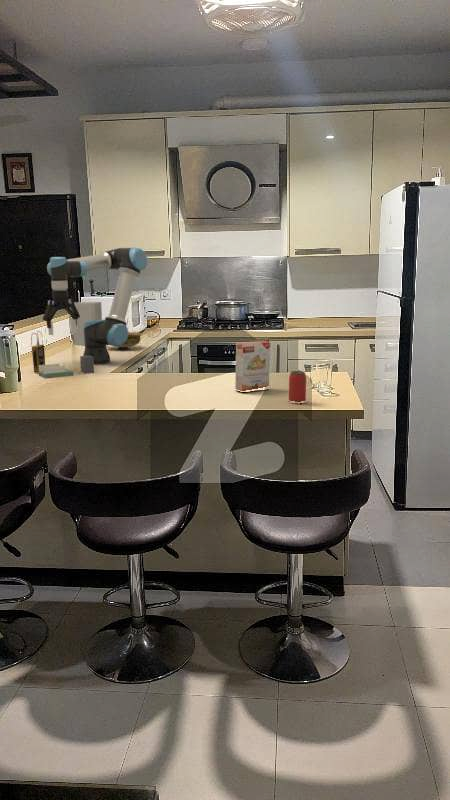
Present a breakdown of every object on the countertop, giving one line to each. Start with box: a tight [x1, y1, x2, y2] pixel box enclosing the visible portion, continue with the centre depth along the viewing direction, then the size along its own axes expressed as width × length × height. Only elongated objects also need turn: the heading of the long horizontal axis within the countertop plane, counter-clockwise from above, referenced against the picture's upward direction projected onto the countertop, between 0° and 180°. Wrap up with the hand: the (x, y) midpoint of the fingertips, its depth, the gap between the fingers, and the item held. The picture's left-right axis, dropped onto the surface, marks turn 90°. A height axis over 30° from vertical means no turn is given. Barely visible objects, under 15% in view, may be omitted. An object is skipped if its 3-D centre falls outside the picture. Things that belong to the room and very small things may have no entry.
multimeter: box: [30, 330, 46, 375], centre depth 309 cm, size 15×10×20 cm
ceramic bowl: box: [114, 331, 143, 351], centre depth 390 cm, size 30×24×10 cm
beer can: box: [288, 370, 307, 402], centre depth 239 cm, size 7×7×12 cm
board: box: [38, 363, 74, 379], centre depth 299 cm, size 14×9×5 cm, turn 124°
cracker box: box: [234, 340, 271, 391], centre depth 260 cm, size 14×6×21 cm, turn 122°
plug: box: [79, 355, 95, 374], centre depth 307 cm, size 5×5×8 cm
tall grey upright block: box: [72, 301, 103, 347], centre depth 409 cm, size 19×15×28 cm
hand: (62, 333), depth 302 cm, fingers open, 13 cm apart
